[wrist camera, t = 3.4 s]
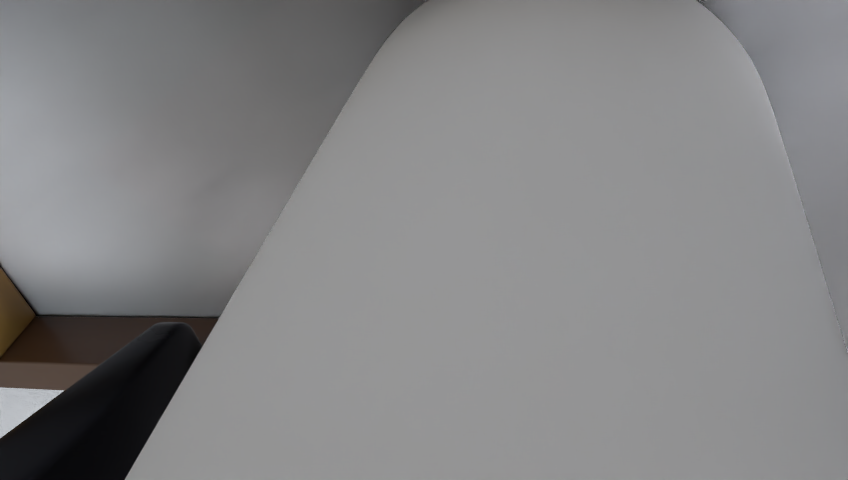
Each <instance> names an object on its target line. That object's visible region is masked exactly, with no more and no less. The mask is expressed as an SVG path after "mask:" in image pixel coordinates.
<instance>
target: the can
mask: <svg viewBox="0 0 848 480" xmlns="http://www.w3.org/2000/svg"><path fill="white" fill-rule="evenodd" d="M125 480H848V353H847V350H846V346H845V343H844V340H843V336H842V333H841V330H840V327H839V323H838V320H837V317H836V313H835V310H834V307H833V303H832V300H831V297H830V293H829V290H828V287H827V284H826V280H825V277H824V274H823V270H822V267H821V264H820V260H819V257H818V254H817V251H816V247H815V244H814V241H813V237H812V234H811V231H810V227H809V224H808V221H807V218H806V214H805V211H804V208H803V205H802V201H801V198H800V195H799V192H798V188H797V185H796V182H795V179H794V175H793V172H792V169H791V166H790V162H789V159H788V156H787V153H786V149H785V146H784V143H783V140H782V137H781V134H780V131H779V128H778V125H777V121H776V118H775V115H774V112H773V109H772V107H771V104H770V101H769V98H768V95H767V92H766V90H765V87H764V85H763V82H762V80H761V78H760V76H759V74H758V72H757V70H756V68H755V66H754V64H753V62H752V60H751V59H750V57H749V55H748V53H747V52H746V50H745V49H744V47H743V46H742V45H741V43H740V42H739V41H738V39H737V38H736V37H735V36H734V34H733V33H732V32H731V31H730V30H729V29H728V28H727V27H726V26H725V24H724V23H723V22H722V21H721V20H720V19H718V18H717V17H716V16H715V15H714V14H713V13H712V12H711V11H709V10H708V9H707V8H706V7H705V6H703V5H702V4H700V3H699V2H698V1H696V0H428V1H427V2H425V3H424V4H422V5H421V6H420V7H418V8H417V9H416V10H414V11H413V12H412V13H411V14H410V15H409V16H408V17H406V18H405V19H404V20H403V21H402V22H401V23H400V25H399V26H398V27H397V28H396V29H395V30H394V31H393V32H392V34H391V35H390V36H389V37H388V39H387V40H386V41H385V43H384V44H383V45H382V47H381V48H380V50H379V51H378V52H377V54H376V56H375V57H374V59H373V60H372V62H371V63H370V65H369V66H368V68H367V70H366V71H365V73H364V74H363V76H362V78H361V79H360V81H359V83H358V84H357V86H356V88H355V89H354V91H353V93H352V94H351V96H350V97H349V99H348V101H347V102H346V104H345V106H344V107H343V109H342V111H341V112H340V114H339V116H338V118H337V119H336V121H335V123H334V124H333V126H332V128H331V129H330V131H329V133H328V134H327V136H326V138H325V139H324V141H323V143H322V144H321V146H320V148H319V149H318V151H317V153H316V155H315V156H314V158H313V160H312V161H311V163H310V165H309V166H308V168H307V170H306V171H305V173H304V175H303V176H302V178H301V180H300V182H299V183H298V185H297V187H296V188H295V190H294V192H293V193H292V195H291V197H290V198H289V200H288V202H287V204H286V205H285V207H284V209H283V210H282V212H281V214H280V215H279V217H278V219H277V221H276V222H275V224H274V226H273V227H272V229H271V231H270V232H269V234H268V236H267V238H266V239H265V241H264V243H263V244H262V246H261V248H260V249H259V251H258V253H257V254H256V256H255V258H254V260H253V261H252V263H251V265H250V266H249V268H248V270H247V271H246V273H245V275H244V277H243V278H242V280H241V282H240V283H239V285H238V287H237V289H236V290H235V292H234V294H233V295H232V297H231V299H230V300H229V302H228V304H227V306H226V307H225V309H224V311H223V312H222V314H221V316H220V318H219V319H218V321H217V323H216V324H215V326H214V328H213V329H212V331H211V333H210V335H209V336H208V338H207V340H206V341H205V343H204V345H203V347H202V348H201V350H200V352H199V353H198V355H197V357H196V358H195V360H194V362H193V364H192V365H191V367H190V369H189V370H188V372H187V374H186V376H185V377H184V379H183V381H182V382H181V384H180V386H179V387H178V389H177V391H176V393H175V394H174V396H173V398H172V399H171V401H170V403H169V405H168V406H167V408H166V410H165V411H164V413H163V415H162V416H161V418H160V420H159V422H158V423H157V425H156V427H155V428H154V430H153V432H152V434H151V435H150V437H149V439H148V440H147V442H146V444H145V446H144V447H143V449H142V451H141V452H140V454H139V456H138V458H137V459H136V461H135V463H134V465H133V466H132V468H131V470H130V471H129V473H128V475H127V477H126V478H125Z"/></svg>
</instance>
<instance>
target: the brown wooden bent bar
mask: <svg viewBox="0 0 848 480" xmlns="http://www.w3.org/2000/svg"><path fill="white" fill-rule="evenodd" d="M218 319H219V318H148V317H62V316H36V315H35V313H34V312H33V310H32V309H31V308H30V306H29V305H28V304H27V302H26V301H25V300H24V298H23V297H22V296H21V294H20V293H19V291H18V290H17V289H16V287H15V286H14V285H13V283H12V282H11V281H10V279H9V278H8V277H7V275H6V274H5V273H4V271H3V270H2V269H1V267H0V387H6V388H27V389H48V390H66V389H68V388H69V387H70V386H72V385H73V384H74V383H76V382H77V381H78V380H80V379H81V378H82V377H84V376H85V375H86V374H88V373H89V372H91V371H92V370H93V369H95V368H96V367H97V366H99V365H100V364H101V363H103V362H104V361H105V360H107V359H108V358H109V357H111V356H112V355H113V354H115V353H116V352H117V351H119V350H120V349H121V348H123V347H124V346H126V345H127V344H128V343H130V342H131V341H132V340H134V339H135V338H136V337H138V336H139V335H140V334H142V333H143V332H144V331H146V330H147V329H148V328H150V327H151V326H153V325H154V324H156V323H160V322H183V323H186V324H188V325H189V326H191V328H192V329H193V330H194V332H195V334H196V336H197V337H198V339H199V341H200V342H201V344H202V346H203V345H204V343H205V341H206V340H207V338H208V336H209V335H210V333H211V331H212V329H213V328H214V326H215V324H216V323H217V321H218Z"/></svg>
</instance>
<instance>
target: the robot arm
mask: <svg viewBox="0 0 848 480" xmlns="http://www.w3.org/2000/svg"><path fill="white" fill-rule="evenodd" d="M202 347H203V346H202V344H201V342H200V341H199V339H198V337H197V336H196V334H195V332H194V330H193V329H192V328H191V326H189V325H188V324H186V323H183V322H160V323H156V324H154V325H153V326H151V327H150V328H148V329H147V330H146V331H144V332H143V333H142V334H140V335H139V336H138V337H136V338H135V339H134V340H132V341H131V342H130V343H128V344H127V345H126V346H124V347H123V348H121V349H120V350H119V351H117V352H116V353H115V354H113V355H112V356H111V357H109V358H108V359H107V360H105V361H104V362H103V363H101V364H100V365H99V366H97V367H96V368H95V369H93V370H92V371H91V372H89V373H88V374H86V375H85V376H84V377H82V378H81V379H80V380H78V381H77V382H76V383H74V384H73V385H72V386H70V387H69V388H68V389H66V390H65V391H64V392H62V393H61V394H60V395H58V396H57V397H56V398H54V399H53V400H51V401H50V402H49V403H47V404H46V405H45V406H43V407H42V408H41V409H39V410H38V411H37V412H35V413H34V414H33V415H31V416H30V417H29V418H27V419H26V420H25V421H23V422H22V423H20V424H19V425H18V426H16V427H15V428H14V429H12V430H11V431H10V432H8V433H7V434H6V435H4V436H3V437H2V438H0V480H125V478H126V477H127V475H128V473H129V471H130V470H131V468H132V466H133V465H134V463H135V461H136V459H137V458H138V456H139V454H140V452H141V451H142V449H143V447H144V446H145V444H146V442H147V440H148V439H149V437H150V435H151V434H152V432H153V430H154V428H155V427H156V425H157V423H158V422H159V420H160V418H161V416H162V415H163V413H164V411H165V410H166V408H167V406H168V405H169V403H170V401H171V399H172V398H173V396H174V394H175V393H176V391H177V389H178V387H179V386H180V384H181V382H182V381H183V379H184V377H185V376H186V374H187V372H188V370H189V369H190V367H191V365H192V364H193V362H194V360H195V358H196V357H197V355H198V353H199V352H200V350H201V348H202Z"/></svg>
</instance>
